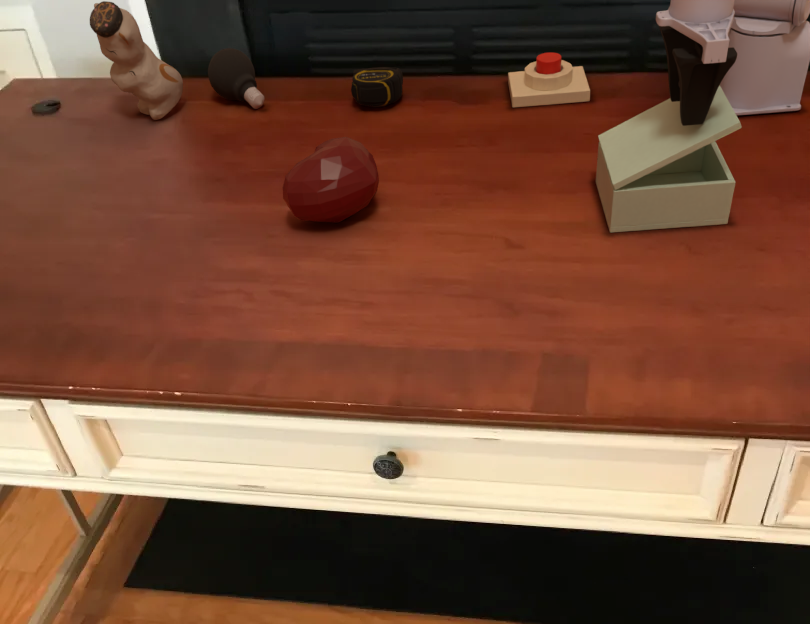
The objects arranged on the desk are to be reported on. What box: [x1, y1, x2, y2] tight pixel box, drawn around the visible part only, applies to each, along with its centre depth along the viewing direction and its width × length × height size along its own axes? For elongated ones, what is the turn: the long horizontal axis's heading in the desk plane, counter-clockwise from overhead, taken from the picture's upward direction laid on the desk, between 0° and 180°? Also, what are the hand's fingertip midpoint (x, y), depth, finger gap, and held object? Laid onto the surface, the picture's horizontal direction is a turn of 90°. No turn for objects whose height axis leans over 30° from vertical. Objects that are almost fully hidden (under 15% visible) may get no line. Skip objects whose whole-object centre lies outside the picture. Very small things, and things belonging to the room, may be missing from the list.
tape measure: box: [350, 66, 404, 108], centre depth 120 cm, size 7×7×4 cm
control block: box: [507, 59, 591, 109], centre depth 118 cm, size 10×8×3 cm
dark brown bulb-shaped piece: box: [207, 47, 265, 110], centre depth 124 cm, size 6×6×10 cm
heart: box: [282, 136, 380, 224], centre depth 100 cm, size 12×8×10 cm
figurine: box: [89, 0, 184, 121], centre depth 120 cm, size 9×10×15 cm
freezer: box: [595, 141, 736, 233], centre depth 96 cm, size 12×11×5 cm
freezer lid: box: [597, 82, 743, 190], centre depth 92 cm, size 13×11×4 cm
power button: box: [535, 52, 562, 75], centre depth 117 cm, size 3×3×2 cm
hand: (686, 111), depth 91 cm, fingers closed on freezer lid, 5 cm apart
